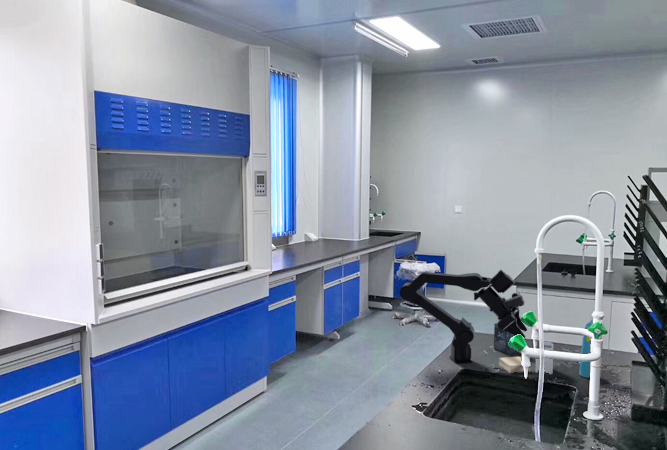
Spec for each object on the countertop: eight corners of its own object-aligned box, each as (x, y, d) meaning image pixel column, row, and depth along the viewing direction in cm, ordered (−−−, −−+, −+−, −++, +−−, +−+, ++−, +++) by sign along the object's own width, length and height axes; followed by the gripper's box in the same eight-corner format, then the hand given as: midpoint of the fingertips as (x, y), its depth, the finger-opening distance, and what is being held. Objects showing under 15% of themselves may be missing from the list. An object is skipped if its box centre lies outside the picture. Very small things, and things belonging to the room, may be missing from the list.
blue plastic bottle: (593, 380, 170) (594, 324, 168) (577, 377, 173) (579, 322, 171) (596, 373, 176) (598, 319, 174) (581, 370, 179) (583, 317, 177)
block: (509, 374, 177) (510, 365, 177) (499, 365, 185) (499, 357, 185) (530, 372, 179) (531, 364, 178) (519, 364, 187) (519, 356, 186)
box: (493, 349, 203) (494, 323, 202) (503, 346, 205) (504, 321, 204) (508, 354, 196) (509, 328, 195) (519, 352, 198) (519, 326, 198)
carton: (535, 372, 178) (536, 344, 177) (536, 366, 183) (536, 339, 182) (552, 374, 176) (553, 346, 175) (552, 369, 181) (553, 341, 180)
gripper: (508, 292, 173) (542, 327, 170) (512, 282, 190) (543, 313, 187) (484, 312, 177) (516, 347, 174) (491, 301, 194) (520, 332, 191)
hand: (525, 334), depth 181 cm, fingers open, 9 cm apart
